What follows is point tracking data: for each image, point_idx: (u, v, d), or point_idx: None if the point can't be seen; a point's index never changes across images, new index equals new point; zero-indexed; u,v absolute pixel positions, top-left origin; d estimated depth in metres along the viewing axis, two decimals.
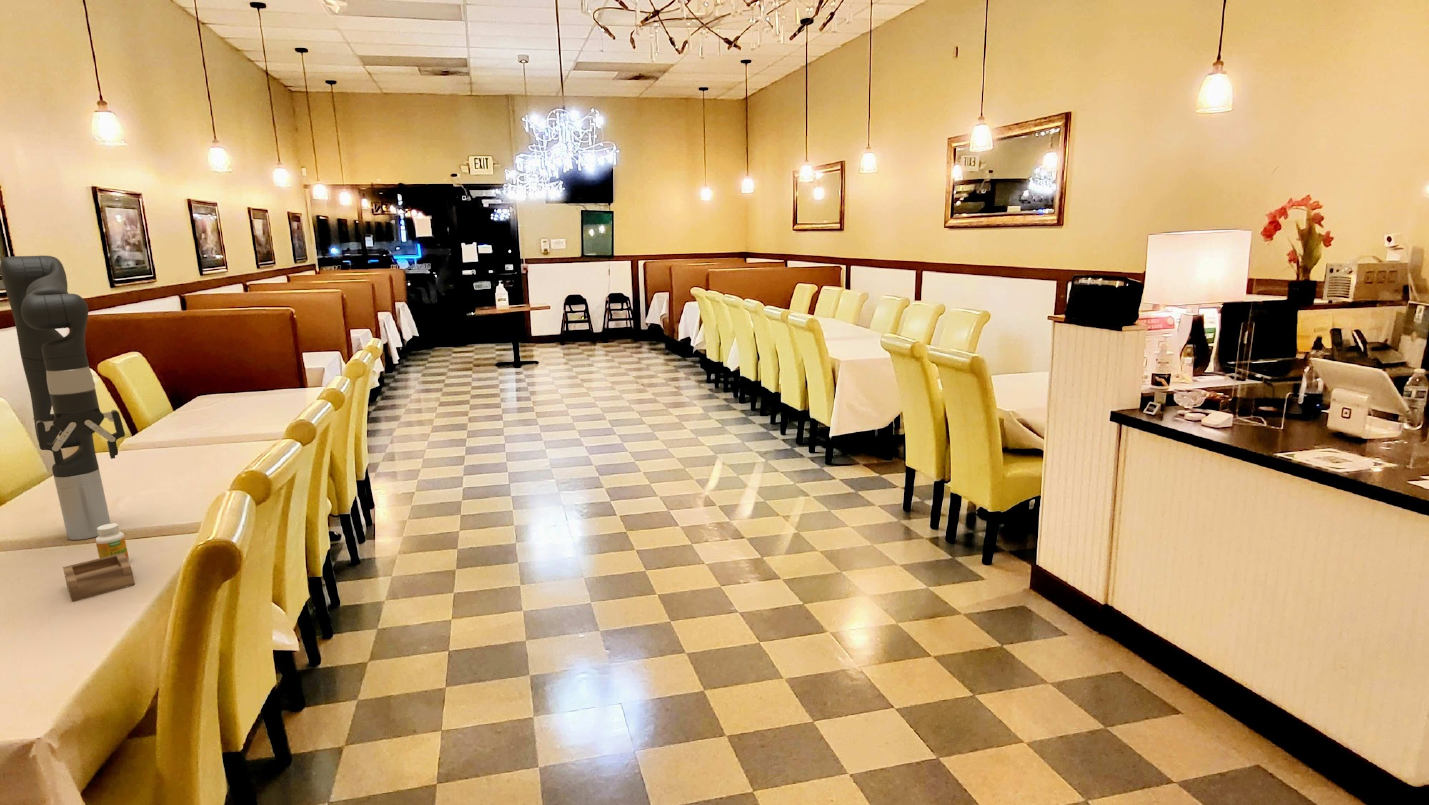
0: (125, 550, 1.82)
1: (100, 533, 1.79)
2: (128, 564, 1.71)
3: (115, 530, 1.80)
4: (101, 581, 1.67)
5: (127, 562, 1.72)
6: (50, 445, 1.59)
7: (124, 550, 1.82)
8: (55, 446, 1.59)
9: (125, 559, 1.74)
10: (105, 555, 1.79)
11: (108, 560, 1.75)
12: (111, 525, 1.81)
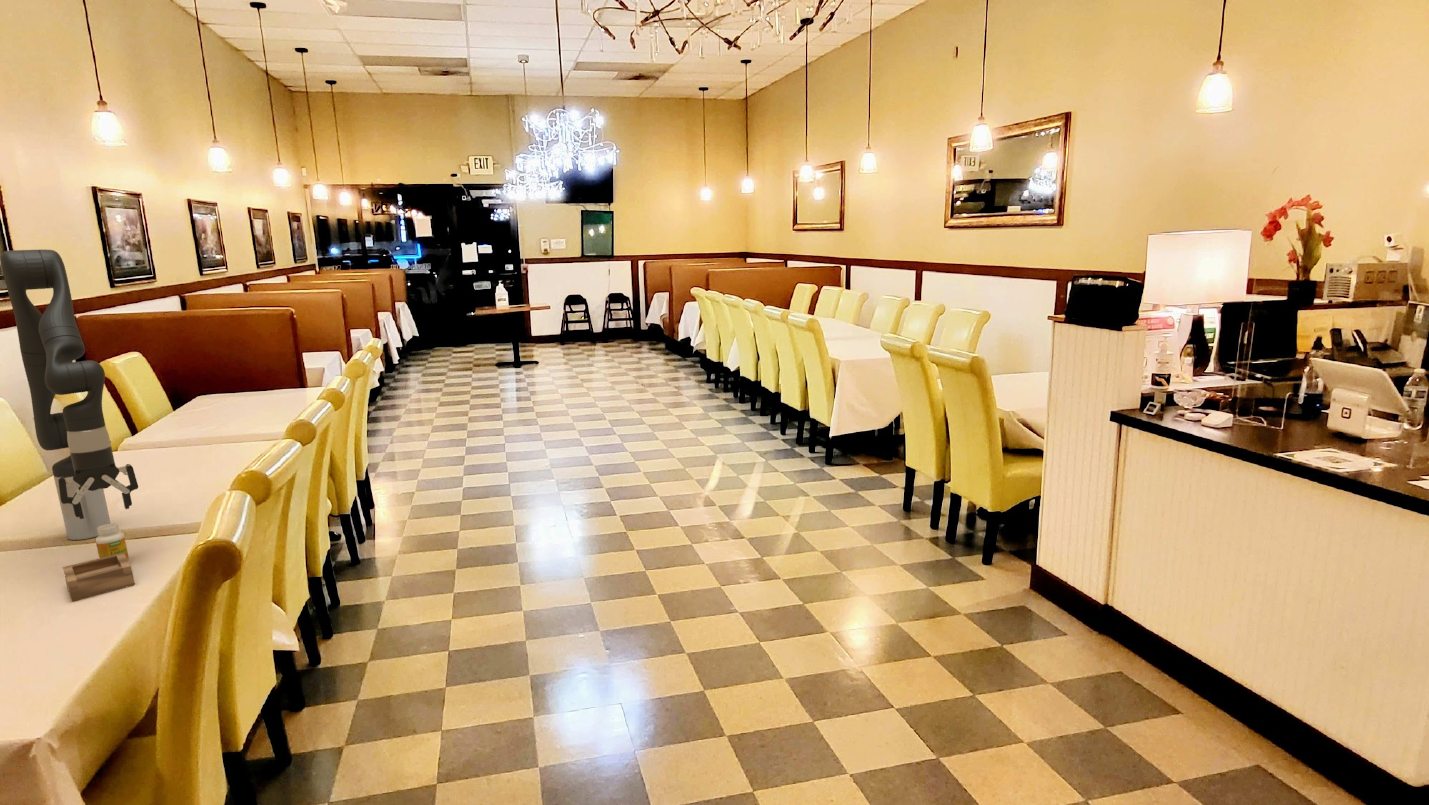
0: (125, 550, 1.82)
1: (100, 533, 1.79)
2: (128, 564, 1.71)
3: (115, 530, 1.80)
4: (101, 581, 1.67)
5: (127, 562, 1.72)
6: (70, 499, 1.74)
7: (125, 550, 1.82)
8: (75, 500, 1.74)
9: (125, 559, 1.74)
10: (105, 555, 1.79)
11: (108, 560, 1.75)
12: (111, 525, 1.81)
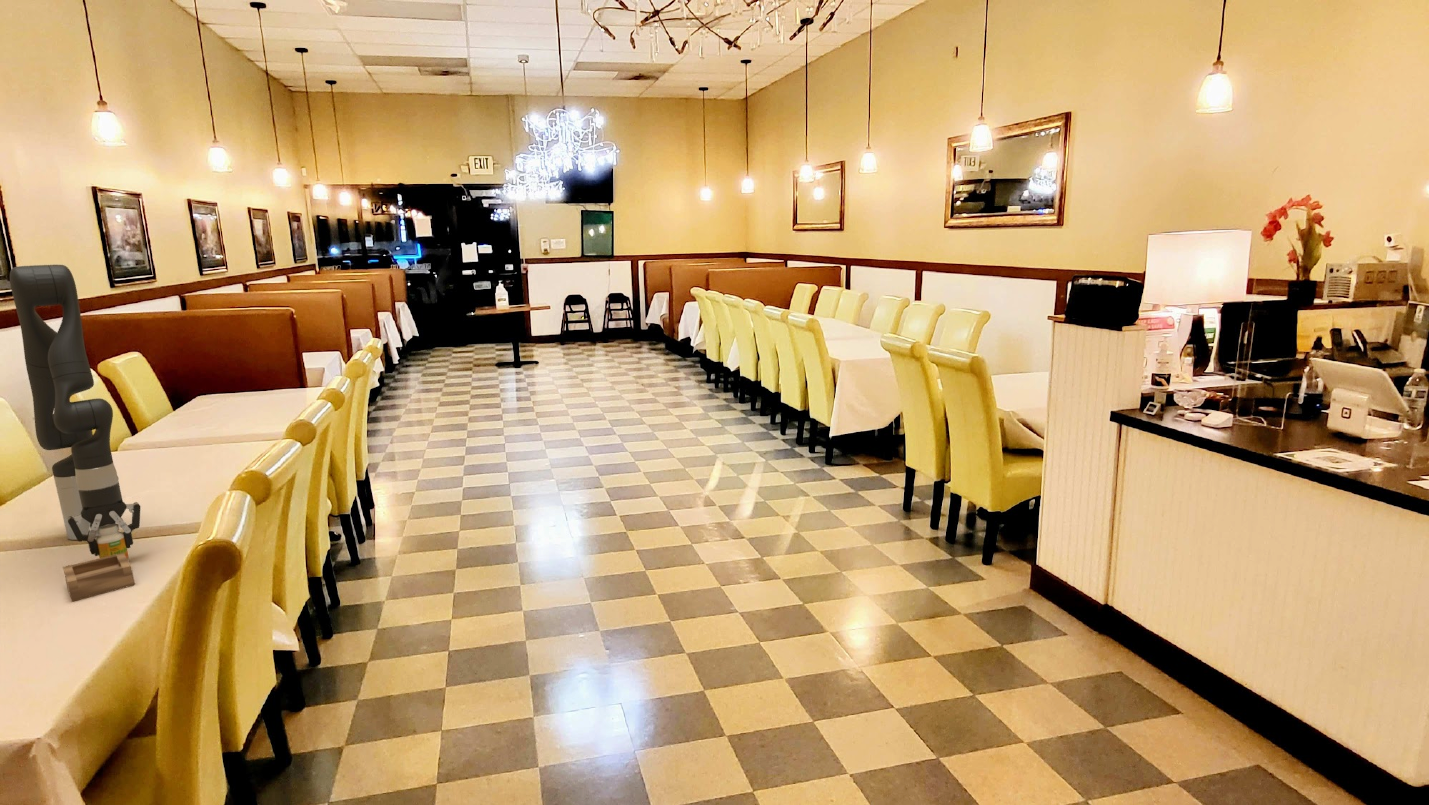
0: (125, 550, 1.82)
1: (100, 533, 1.79)
2: (128, 564, 1.71)
3: (115, 530, 1.80)
4: (101, 581, 1.67)
5: (127, 562, 1.72)
6: (86, 536, 1.77)
7: (125, 549, 1.82)
8: (90, 537, 1.77)
9: (125, 559, 1.74)
10: (105, 555, 1.79)
11: (108, 560, 1.75)
12: (111, 525, 1.81)
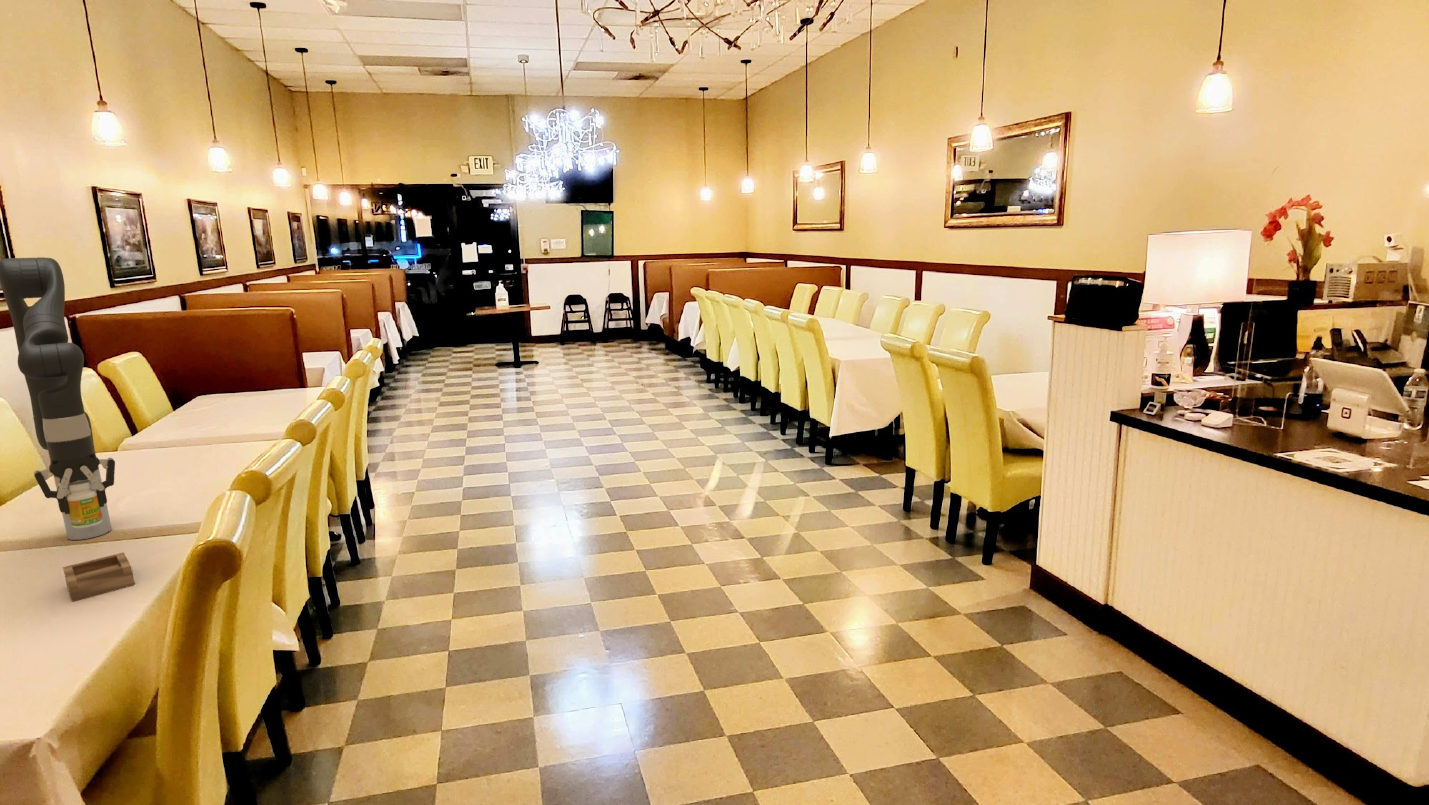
0: (98, 509, 1.68)
1: (70, 489, 1.64)
2: (128, 564, 1.71)
3: (87, 487, 1.66)
4: (101, 581, 1.67)
5: (127, 562, 1.72)
6: (55, 493, 1.63)
7: (98, 508, 1.68)
8: (60, 494, 1.63)
9: (125, 559, 1.74)
10: (76, 513, 1.65)
11: (108, 560, 1.75)
12: (83, 481, 1.66)
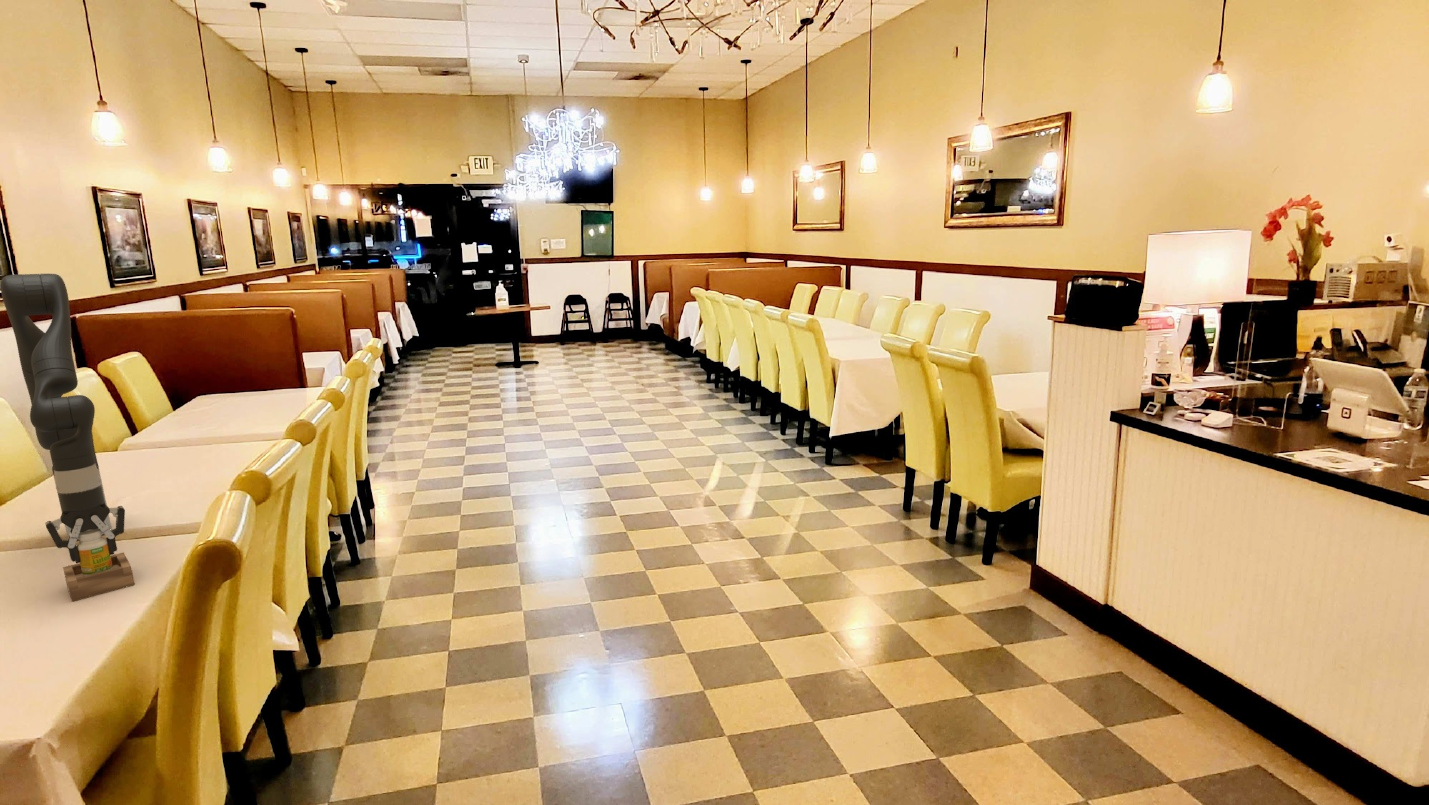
0: (108, 557, 1.70)
1: (81, 539, 1.67)
2: (128, 564, 1.71)
3: (97, 536, 1.68)
4: (101, 581, 1.67)
5: (127, 562, 1.72)
6: (66, 542, 1.65)
7: (108, 556, 1.70)
8: (71, 543, 1.66)
9: (125, 559, 1.74)
10: (87, 562, 1.67)
11: None
12: (93, 530, 1.69)
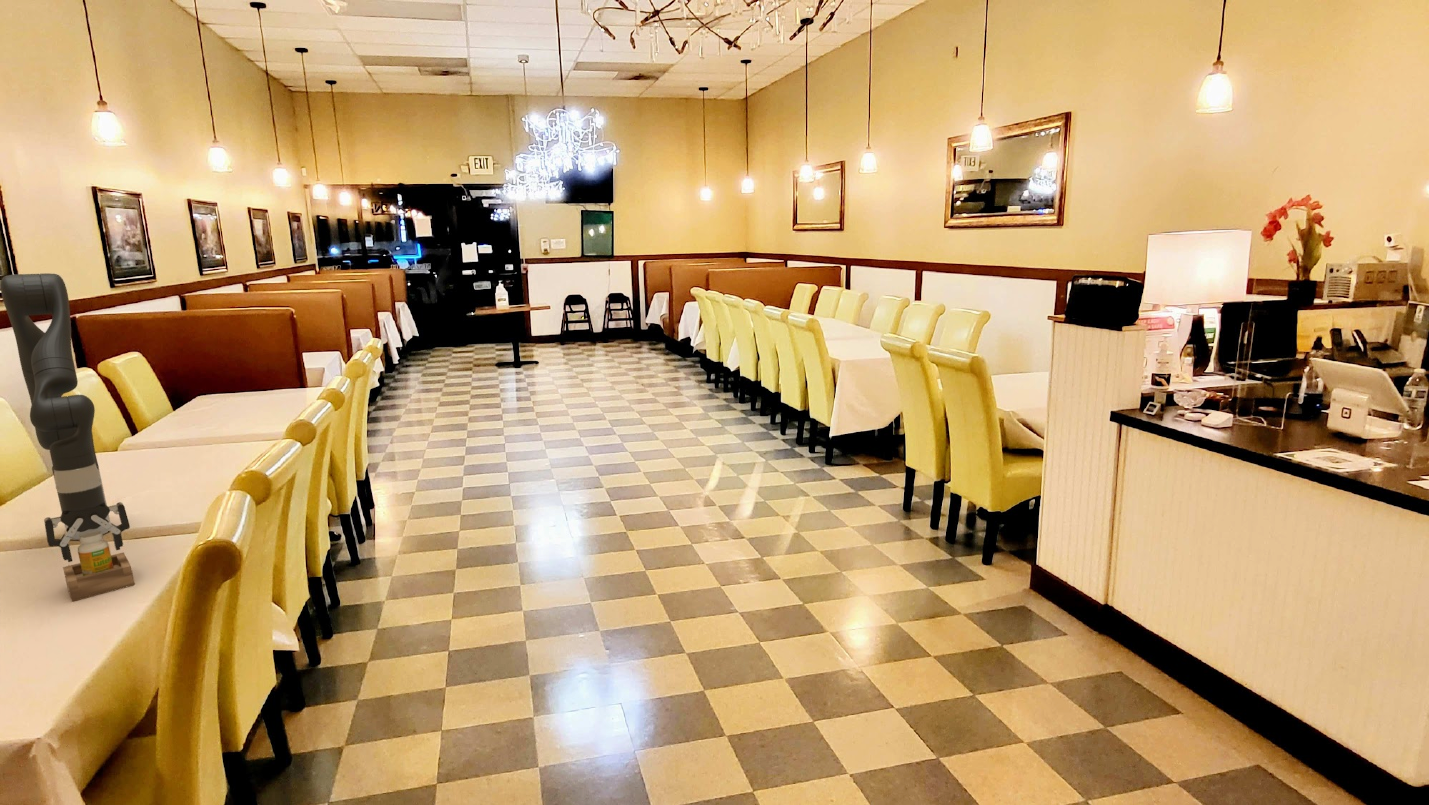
0: (109, 560, 1.71)
1: (82, 542, 1.67)
2: (128, 564, 1.71)
3: (98, 538, 1.68)
4: (101, 581, 1.67)
5: (127, 562, 1.72)
6: (58, 541, 1.64)
7: (109, 559, 1.70)
8: (63, 542, 1.64)
9: (125, 559, 1.74)
10: (87, 565, 1.67)
11: None
12: (94, 533, 1.69)
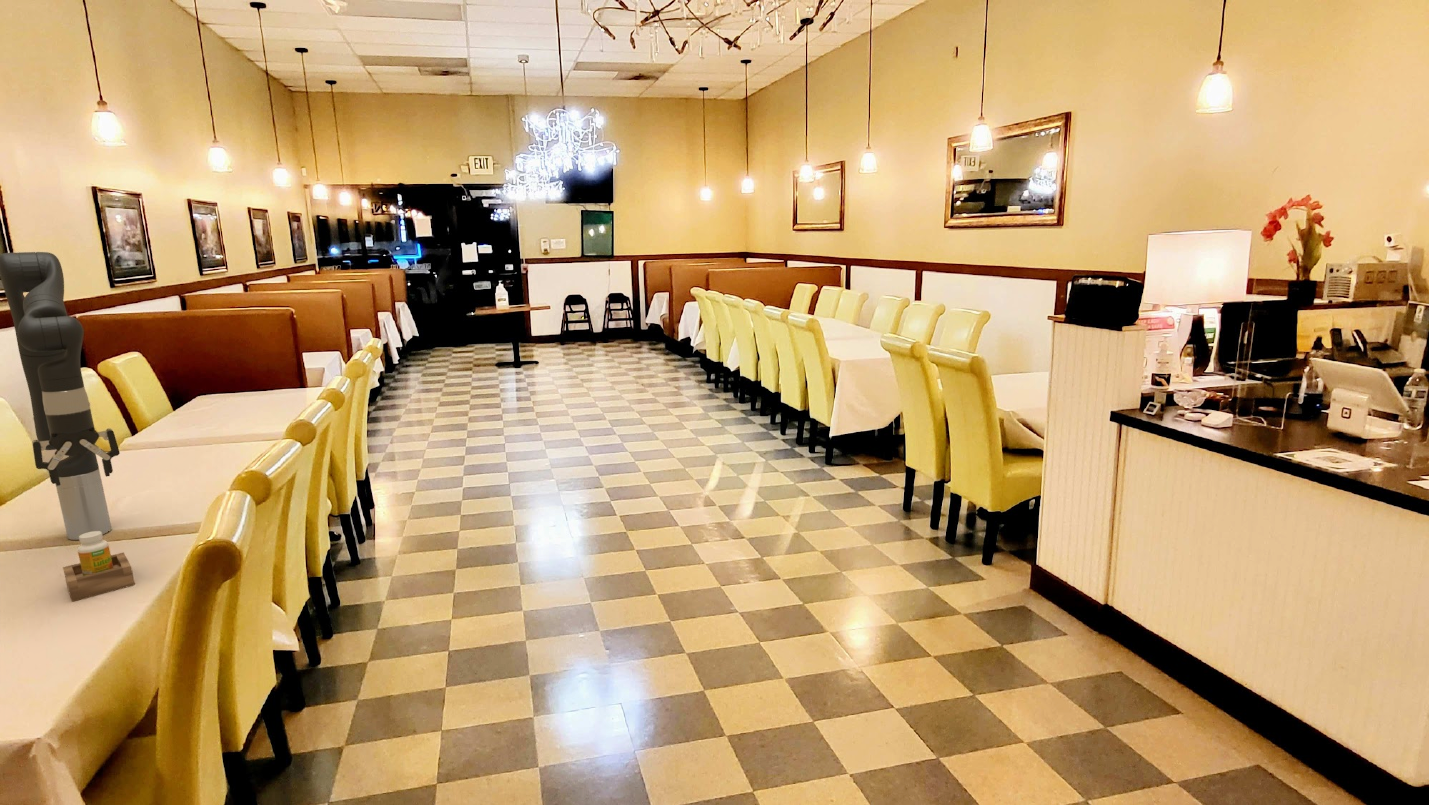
0: (109, 560, 1.71)
1: (82, 542, 1.67)
2: (128, 564, 1.71)
3: (98, 538, 1.68)
4: (101, 581, 1.67)
5: (127, 562, 1.72)
6: (46, 464, 1.63)
7: (109, 559, 1.70)
8: (51, 465, 1.63)
9: (125, 559, 1.74)
10: (87, 565, 1.67)
11: None
12: (94, 533, 1.69)
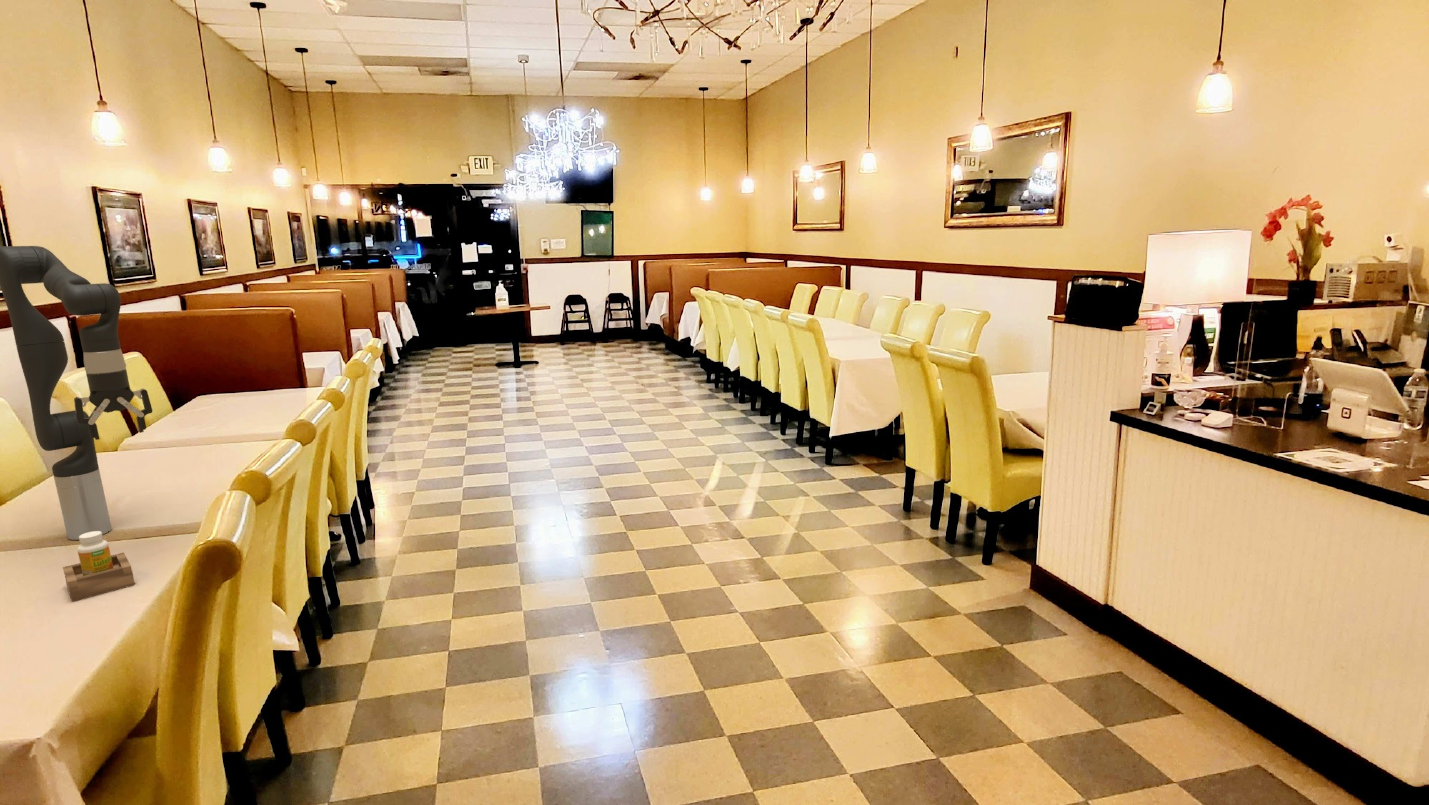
0: (109, 560, 1.71)
1: (82, 542, 1.67)
2: (128, 564, 1.71)
3: (98, 538, 1.68)
4: (101, 581, 1.67)
5: (127, 562, 1.72)
6: (86, 419, 1.77)
7: (109, 559, 1.70)
8: (91, 420, 1.77)
9: (125, 559, 1.74)
10: (87, 565, 1.67)
11: None
12: (94, 533, 1.69)
